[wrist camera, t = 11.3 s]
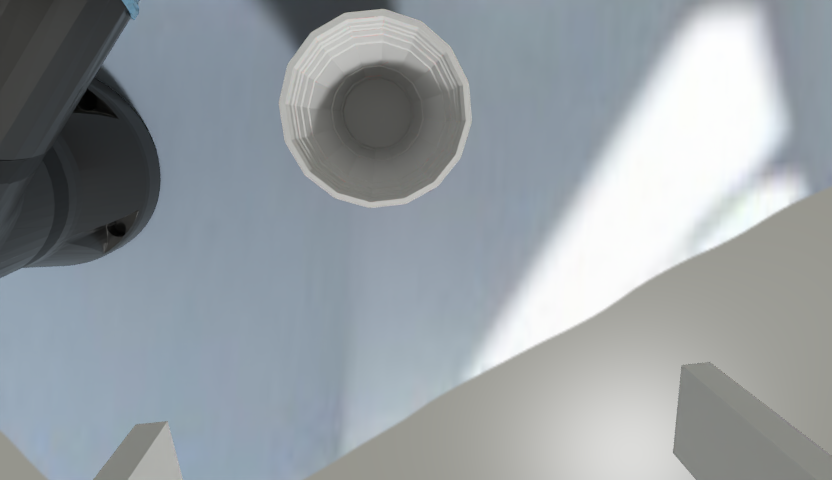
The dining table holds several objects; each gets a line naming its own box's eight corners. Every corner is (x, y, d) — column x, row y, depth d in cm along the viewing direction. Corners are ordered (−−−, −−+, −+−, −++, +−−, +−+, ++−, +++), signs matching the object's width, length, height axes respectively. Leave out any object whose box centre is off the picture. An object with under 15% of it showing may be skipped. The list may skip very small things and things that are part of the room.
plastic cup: (421, 19, 36) (443, -23, 24) (459, 155, 39) (494, 175, 27) (287, 62, 36) (244, 41, 24) (335, 194, 39) (317, 232, 27)
